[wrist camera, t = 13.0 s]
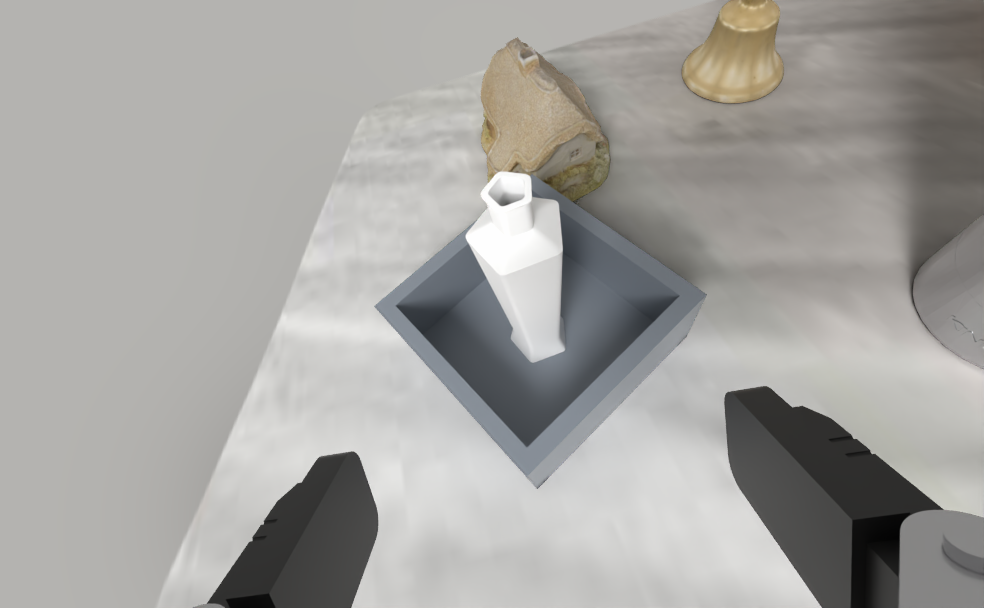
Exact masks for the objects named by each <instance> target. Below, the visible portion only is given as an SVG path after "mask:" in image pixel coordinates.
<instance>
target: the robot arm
mask: <svg viewBox="0 0 984 608" xmlns="http://www.w3.org/2000/svg"><path fill="white" fill-rule="evenodd" d="M913 297H914V302H915V307H916V309H917V311H918V313H919V315H920V317H921V320H922V321H923V322H924V324H925V325H926V326H927V328H928V329H929V331H930V332H931V333H932V334H933V335H934V336H935V337H936V338H937V339H938V340H939V341H940V342H941V343H942V344H943V345H944V346H945V347H947V348H948V349H949V350H951V351H952V352H954V353H955V354H957V355H958V356H960V357H961V358H962V359H964V360H966V361H968V362H970V363H972V364H974V365H976V366H978V367H980V368H982V369H984V214H983V215H982V216H980V217H979V218H978V219H977V220H976V221H974V222H973V223H971V224H970V225H969V226H968V227H967V228H965V229H964V230H963V231H962V232H960V233H959V234H958V235H957V236H956V237H954V238H953V239H952V240H951V241H950V242H948V243H947V244H946V245H945V246H943V247H942V248H941V249H940V250H939V251H937V252H936V253H935V254H934V255H933V256H931V257H930V258H929V259H928V260H927V261H926V262H925V263H924V264H923V265H922V266H921V267H920V269H919V270H918V272H917V275H916V277H915V279H914V285H913ZM724 403H725V418H726V431H727V445H728V457H729V463H730V467H731V470H732V473H733V476H734V478H735V481H736V483H737V485H738V487H739V488H740V490H741V491H742V493H743V494H744V496H745V497H746V498H747V500H748V501H749V503H750V504H751V506H752V507H753V509H754V510H755V511H756V513H757V514H758V516H759V517H760V519H761V520H762V522H763V523H764V524H765V526H766V527H767V529H768V530H769V532H770V533H771V535H772V536H773V537H774V539H775V540H776V542H777V543H778V545H779V546H780V548H781V549H782V550H783V552H784V553H785V555H786V556H787V558H788V559H789V561H790V562H791V564H792V565H793V566H794V568H795V569H796V571H797V572H798V574H799V575H800V577H801V578H802V579H803V581H804V582H805V584H806V585H807V587H808V588H809V590H810V591H811V592H812V594H813V595H814V597H815V598H816V600H817V601H818V603H819V604H820V605H821V607H822V608H984V518H983V517H979V516H976V515H972V514H968V513H963V512H958V511H949V510H943V509H942V508H941V507H940V506H938V505H937V504H936V503H935V502H933V501H932V500H931V499H930V498H929V497H927V496H926V495H925V494H924V493H922V492H921V491H920V490H919V489H917V488H916V487H915V486H914V485H913V484H911V483H910V482H909V481H908V480H906V479H905V478H904V477H903V476H901V475H900V474H899V473H898V472H896V471H895V470H894V469H893V468H892V467H890V466H889V465H888V464H887V463H885V462H884V461H883V460H882V459H880V458H879V457H878V456H877V455H876V454H871V452H870V450H869V449H868V448H867V447H866V446H864V445H863V444H862V443H861V442H859V441H858V440H857V439H853V437H852V435H851V434H850V433H848V432H847V431H846V430H845V429H843V428H842V427H841V426H840V425H838V424H837V423H836V422H835V421H834V420H832V419H831V418H829V417H826V416H824V415H822V414H820V413H817V412H815V411H813V410H810V409H808V408H806V407H804V406H800V407H793V408H792V407H791V406H790V405H789V404H788V403H786V402H785V401H784V400H783V399H782V398H781V397H780V396H779V395H777V394H776V393H775V392H774V391H773V390H772V389H770V388H769V387H767V386H763V387H756V388H750V389H744V390H738V391H731V392H727V393H726V395H725V401H724ZM377 532H378V512H377V508H376V504H375V501H374V498H373V496H372V493H371V490H370V487H369V484H368V481H367V478H366V475H365V472H364V469H363V466H362V463H361V461H360V458H359V456H358V455H357V454H356V453H355V452H346V453H340V454H333V455H327V456H321V457H319V458H318V459H317V460H316V462H315V463H314V465H313V466H312V468H311V469H310V471H309V472H308V474H307V475H306V477H305V478H304V480H303V481H302V483H298V484H296V485H295V486H294V487H293V488H292V489H291V490H290V491H289V492H287V493H286V494H285V495H284V496H283V497H282V498H281V499H280V500H278V501H277V503H276V504H275V506H274V507H273V509H272V510H271V511H270V513H269V514H268V516H267V517H266V519H265V520H264V525H261V526H260V527H259V529H258V530H257V532H256V533H255V535H254V536H253V541H252V542H249V543H248V545H247V546H246V548H245V549H244V551H243V552H242V553H241V555H240V556H239V558H238V559H237V561H236V562H235V564H234V565H233V566H232V568H231V569H230V571H229V572H228V574H227V575H226V577H225V578H224V580H223V581H222V582H221V584H220V585H219V587H218V588H217V590H216V591H215V593H214V594H213V595H212V597H211V598H210V600H209V601H208V603H207V604H203V605H200V606H196V607H193V608H351V606H352V604H353V601H354V598H355V595H356V592H357V590H358V587H359V584H360V581H361V579H362V576H363V573H364V570H365V568H366V565H367V562H368V559H369V557H370V554H371V551H372V548H373V546H374V543H375V540H376V537H377Z"/></svg>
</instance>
